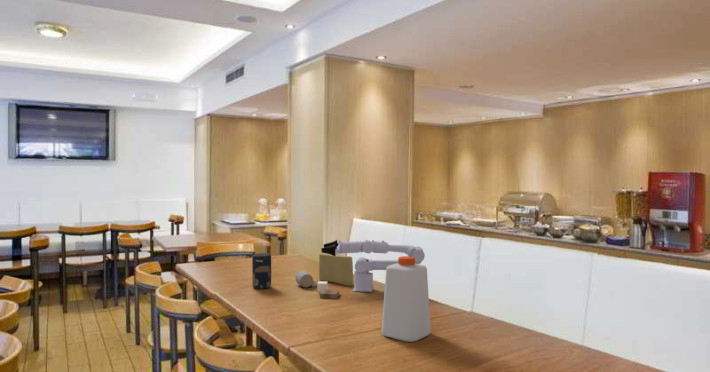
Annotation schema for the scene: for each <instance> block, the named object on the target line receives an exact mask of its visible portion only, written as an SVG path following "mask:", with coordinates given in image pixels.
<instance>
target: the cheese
mask: <svg viewBox="0 0 710 372" xmlns="http://www.w3.org/2000/svg"><path fill="white" fill-rule="evenodd" d="M318 260H319V261H318V262H319V264H318V265H319V266H318V267H319V269H318V271H319V272H318V276H319V278H318V279H319V280H318V281H324V282H330V283H334V284H335V283H336V284H340V285H345V286H347V287H348V286H349V287H350V286H353V285H354V266H353V257H352V256H349V255H343V254H336V256H333V255H331V254H326V253H322V252H321V253H319V258H318Z"/></svg>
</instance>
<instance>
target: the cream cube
mask: <svg viewBox="0 0 710 372" xmlns="http://www.w3.org/2000/svg"><path fill="white" fill-rule="evenodd" d="M328 282H329V281H322V280H318V282H317V286H316V293H321V291H322V290H329V288H328V287H329V284H328Z"/></svg>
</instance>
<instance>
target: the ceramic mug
mask: <svg viewBox="0 0 710 372" xmlns="http://www.w3.org/2000/svg"><path fill="white" fill-rule="evenodd" d="M295 282H296V283H297V285H299V286H301V287H302V288H307V289H308V288H310V287H311V286H314V287H317V283H318V282H317V281H315V280H314V278H313V276H312V275H311V273H309V272H308V271H306V270H304V269H303V270H299V271H298V272H297V273H296V275H295Z"/></svg>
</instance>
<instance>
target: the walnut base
mask: <svg viewBox="0 0 710 372" xmlns="http://www.w3.org/2000/svg"><path fill="white" fill-rule="evenodd" d="M339 295H340V290H338V289H328V290H322V291H321V292H319V299H332V300H333V299H336V300H337V299H338V297H339Z"/></svg>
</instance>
